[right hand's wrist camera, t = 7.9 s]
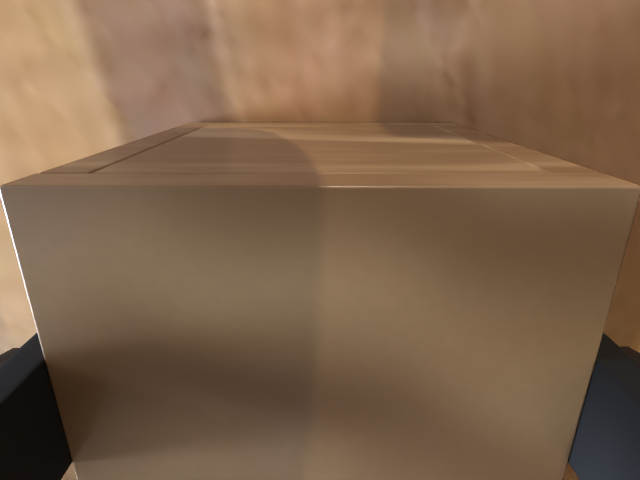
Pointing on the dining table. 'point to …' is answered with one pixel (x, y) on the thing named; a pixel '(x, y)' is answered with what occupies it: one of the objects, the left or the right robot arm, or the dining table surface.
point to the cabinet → (320, 301)
